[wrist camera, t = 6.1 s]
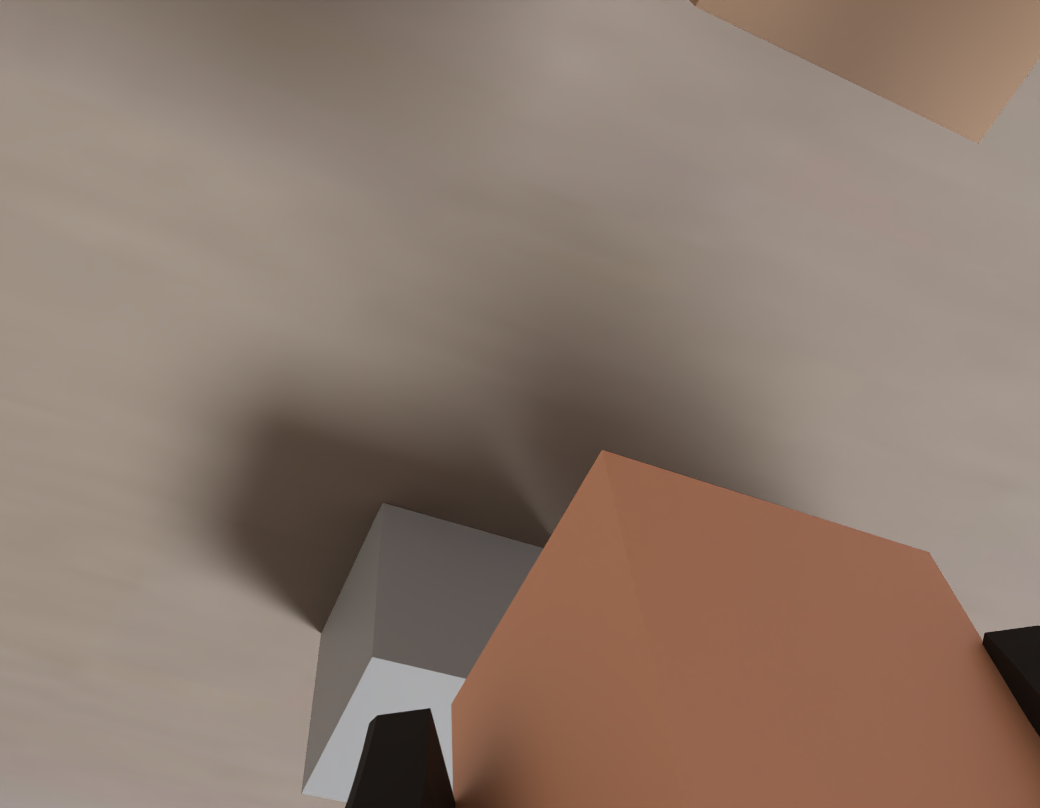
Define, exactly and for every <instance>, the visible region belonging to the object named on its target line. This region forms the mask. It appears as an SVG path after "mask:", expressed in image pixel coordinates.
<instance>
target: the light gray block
mask: <svg viewBox="0 0 1040 808" xmlns="http://www.w3.org/2000/svg"><path fill="white" fill-rule="evenodd" d="M542 550H543V548H542V547H538V546H534V545H531V544H527V543H524V542H520V541H517V540H513V539H510V538H506V537H503V536H499V535H495V534H492V533H488V532H485V531H481V530H478V529H474V528H471V527H467V526H463V525H460V524H456V523H453V522H449V521H446V520H442V519H439V518H435V517H432V516H428V515H424V514H421V513H417V512H414V511H410V510H407V509H403V508H400V507H396V506H392V505H389V504H385V503H382V505H381V507H380V509H379V511H378V513H377V515H376V517H375V519H374V522H373V524H372V526H371V528H370V530H369V532H368V534H367V537H366V539H365V541H364V543H363V545H362V547H361V549H360V552H359V554H358V556H357V558H356V560H355V562H354V564H353V567H352V569H351V571H350V573H349V575H348V577H347V579H346V581H345V584H344V586H343V588H342V590H341V592H340V594H339V596H338V599H337V601H336V603H335V605H334V607H333V609H332V611H331V614H330V616H329V618H328V620H327V622H326V624H325V626H324V629H323V631H322V633H321V639H320V647H319V655H318V663H317V671H316V680H315V688H314V696H313V704H312V712H311V720H310V728H309V736H308V744H307V752H306V760H305V769H304V777H303V785H302V793H301V794H305V795H311V796H316V797H321V798H327V799H332V800H337V801H343V802H347V800H348V797H349V794H350V791H351V788H352V785H353V781H354V778H355V775H356V771H357V768H358V764H359V761H360V757H361V754H362V750H363V746H364V742H365V738H366V734H367V730H368V726H369V723H370V722H371V721H372V720H373V719H374V718H375V717H376V716H377V715H383V714H390V713H397V712H405V711H412V710H420V709H427V708H431V712H432V716H433V719H434V723H435V727H436V731H437V735H438V738H439V742H440V746H441V750H442V754H443V757H444V761H445V765H446V769H447V772H448V776H449V780H450V784H451V788H452V791H453V769H452V716H451V704H452V702H453V700H454V699H455V697H456V695H457V694H458V692H459V690H460V689H461V687H462V685H463V683H464V682H465V680H466V678H467V677H468V675H469V673H470V672H471V670H472V668H473V667H474V665H475V663H476V662H477V660H478V658H479V656H480V655H481V653H482V651H483V650H484V648H485V646H486V645H487V643H488V641H489V640H490V638H491V636H492V635H493V633H494V631H495V629H496V628H497V626H498V624H499V623H500V621H501V619H502V618H503V616H504V614H505V613H506V611H507V609H508V608H509V606H510V604H511V602H512V601H513V599H514V597H515V596H516V594H517V592H518V591H519V589H520V587H521V586H522V584H523V582H524V581H525V579H526V577H527V575H528V574H529V572H530V570H531V569H532V567H533V565H534V564H535V562H536V560H537V559H538V557H539V555H540V554H541V552H542Z"/></svg>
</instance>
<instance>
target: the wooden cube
mask: <svg viewBox="0 0 1040 808" xmlns="http://www.w3.org/2000/svg"><path fill="white" fill-rule="evenodd" d="M690 1H691V2H692V3H693V4H694V5H695V6H696V7H698V8H700V9H702V10H704V11H706V12H708V13H710V14H712V15H714V16H716V17H718V18H720V19H722V20H724V21H727V22H729V23H731V24H733V25H735V26H737V27H739V28H741V29H743V30H745V31H747V32H749V33H751V34H753V35H755V36H757V37H760V38H762V39H764V40H766V41H768V42H770V43H772V44H774V45H776V46H778V47H780V48H782V49H784V50H786V51H788V52H791V53H793V54H795V55H797V56H799V57H801V58H803V59H805V60H807V61H809V62H811V63H813V64H815V65H817V66H819V67H821V68H824V69H826V70H828V71H830V72H832V73H834V74H836V75H838V76H840V77H842V78H844V79H846V80H848V81H850V82H852V83H854V84H857V85H859V86H861V87H863V88H865V89H867V90H869V91H871V92H873V93H875V94H877V95H879V96H881V97H883V98H885V99H888V100H890V101H892V102H894V103H896V104H898V105H900V106H902V107H904V108H906V109H908V110H910V111H912V112H914V113H916V114H918V115H921V116H923V117H925V118H927V119H929V120H931V121H933V122H935V123H937V124H939V125H941V126H943V127H945V128H947V129H949V130H951V131H954V132H956V133H958V134H960V135H962V136H964V137H966V138H968V139H970V140H972V141H974V142H976V143H978V144H979V142H980V141H981V139H982V138H983V137H984V135H985V134H986V132H987V131H988V130H989V128H990V127H991V125H992V124H993V123H994V121H995V120H996V118H997V117H998V116H999V114H1000V113H1001V111H1002V110H1003V108H1004V107H1005V106H1006V104H1007V103H1008V101H1009V100H1010V99H1011V97H1012V96H1013V94H1014V93H1015V92H1016V90H1017V89H1018V87H1019V86H1020V85H1021V83H1022V82H1023V80H1024V79H1025V78H1026V76H1027V75H1028V73H1029V72H1030V71H1031V69H1032V68H1033V66H1034V65H1035V64H1036V62H1037V61H1038V59H1039V58H1040V0H690Z"/></svg>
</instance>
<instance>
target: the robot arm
mask: <svg viewBox="0 0 1040 808" xmlns="http://www.w3.org/2000/svg"><path fill="white" fill-rule="evenodd" d="M982 644H983V646H984V648H985V649H986V651H987V653H988V654H989V656H990V658H991V659H992V661H993V663H994V664H995V666H996V668H997V669H998V671H999V673H1000V674H1001V676H1002V677H1003V679H1004V681H1005V682H1006V684H1007V686H1008V687H1009V689H1010V691H1011V692H1012V694H1013V696H1014V697H1015V699H1016V701H1017V702H1018V704H1019V706H1020V707H1021V709H1022V711H1023V712H1024V714H1025V716H1026V717H1027V719H1028V721H1029V722H1030V723H1031V725H1032V726H1033V728H1034V729H1035V731H1036V732H1037V734H1038V735H1039V737H1040V626H1032V627H1024V628H1017V629H1009V630H1002V631H995V632H987V633H985V634H984V638H983V643H982ZM345 808H455V799H454V795H453V791H452V788H451V784H450V780H449V776H448V772H447V769H446V765H445V761H444V757H443V754H442V750H441V746H440V742H439V738H438V735H437V731H436V727H435V723H434V719H433V716H432V712H431V708H427V709H420V710H412V711H405V712H397V713H390V714H383V715H377V716H376V717H375V718H374V719H373V720H372V721H371V722H370V723H369V726H368V730H367V734H366V738H365V742H364V746H363V750H362V754H361V757H360V761H359V764H358V768H357V771H356V775H355V778H354V781H353V785H352V788H351V791H350V794H349V797H348V800H347V804H346V807H345Z"/></svg>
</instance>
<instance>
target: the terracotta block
mask: <svg viewBox="0 0 1040 808" xmlns="http://www.w3.org/2000/svg"><path fill="white" fill-rule="evenodd" d="M982 643H983V641H982V639H981V638H980V636H979V634H978V633H977V631H976V629H975V628H974V626H973V624H972V623H971V621H970V619H969V618H968V616H967V614H966V613H965V611H964V609H963V608H962V606H961V604H960V603H959V601H958V599H957V598H956V596H955V595H954V593H953V591H952V590H951V588H950V586H949V585H948V583H947V581H946V580H945V578H944V576H943V575H942V573H941V571H940V570H939V568H938V566H937V565H936V563H935V561H934V560H933V558H932V557H931V555H930V553H929V552H926V551H923V550H920V549H916V548H913V547H910V546H907V545H904V544H900V543H897V542H894V541H891V540H888V539H885V538H881V537H878V536H875V535H872V534H869V533H865V532H862V531H859V530H856V529H853V528H849V527H846V526H843V525H840V524H837V523H834V522H830V521H827V520H824V519H821V518H818V517H814V516H811V515H808V514H805V513H802V512H799V511H795V510H792V509H789V508H786V507H783V506H779V505H776V504H773V503H770V502H767V501H763V500H760V499H757V498H754V497H751V496H748V495H744V494H741V493H738V492H735V491H732V490H728V489H725V488H722V487H719V486H716V485H712V484H709V483H706V482H703V481H700V480H697V479H693V478H690V477H687V476H684V475H681V474H677V473H674V472H671V471H668V470H665V469H661V468H658V467H655V466H652V465H649V464H646V463H642V462H639V461H636V460H633V459H630V458H626V457H623V456H620V455H617V454H614V453H611V452H607V451H604V450H602V451H601V452H600V454H599V456H598V457H597V459H596V461H595V462H594V464H593V466H592V467H591V469H590V471H589V473H588V474H587V476H586V478H585V479H584V481H583V483H582V484H581V486H580V488H579V489H578V491H577V493H576V494H575V496H574V498H573V500H572V501H571V503H570V505H569V506H568V508H567V510H566V511H565V513H564V515H563V516H562V518H561V520H560V521H559V523H558V525H557V527H556V528H555V530H554V532H553V533H552V535H551V537H550V538H549V540H548V542H547V543H546V545H545V547H544V548H543V550H542V552H541V554H540V555H539V557H538V559H537V560H536V562H535V564H534V565H533V567H532V569H531V570H530V572H529V574H528V575H527V577H526V579H525V581H524V582H523V584H522V586H521V587H520V589H519V591H518V592H517V594H516V596H515V597H514V599H513V601H512V602H511V604H510V606H509V608H508V609H507V611H506V613H505V614H504V616H503V618H502V619H501V621H500V623H499V624H498V626H497V628H496V629H495V631H494V633H493V635H492V636H491V638H490V640H489V641H488V643H487V645H486V646H485V648H484V650H483V651H482V653H481V655H480V656H479V658H478V660H477V662H476V663H475V665H474V667H473V668H472V670H471V672H470V673H469V675H468V677H467V678H466V680H465V682H464V683H463V685H462V687H461V689H460V690H459V692H458V694H457V695H456V697H455V699H454V700H453V702H452V704H451V716H452V769H453V795H454V799H455V808H1040V737H1039V735H1038V734H1037V732H1036V731H1035V729H1034V728H1033V726H1032V725H1031V723H1030V722H1029V721H1028V719H1027V717H1026V716H1025V714H1024V712H1023V711H1022V709H1021V707H1020V706H1019V704H1018V702H1017V701H1016V699H1015V697H1014V696H1013V694H1012V692H1011V691H1010V689H1009V687H1008V686H1007V684H1006V682H1005V681H1004V679H1003V677H1002V676H1001V674H1000V673H999V671H998V669H997V668H996V666H995V664H994V663H993V661H992V659H991V658H990V656H989V654H988V653H987V651H986V649H985V648H984V646H983V644H982Z"/></svg>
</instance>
